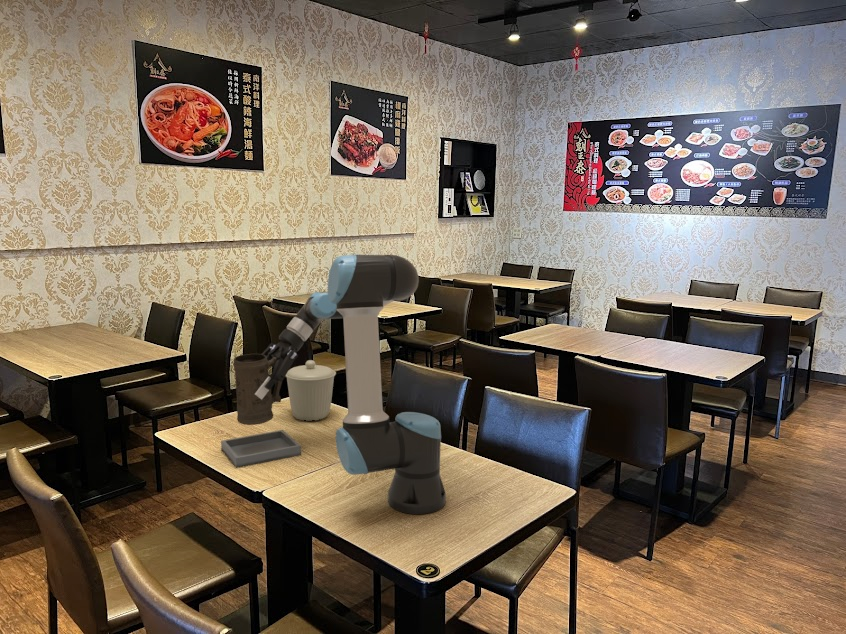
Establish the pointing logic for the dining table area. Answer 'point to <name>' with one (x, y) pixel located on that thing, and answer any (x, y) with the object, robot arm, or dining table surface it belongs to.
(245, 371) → the beer stein
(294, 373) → the canister
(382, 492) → the dining table surface
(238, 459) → the tray
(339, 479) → the dining table surface
